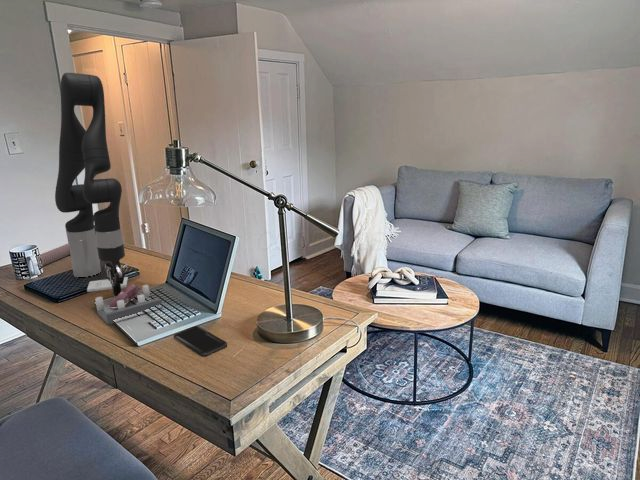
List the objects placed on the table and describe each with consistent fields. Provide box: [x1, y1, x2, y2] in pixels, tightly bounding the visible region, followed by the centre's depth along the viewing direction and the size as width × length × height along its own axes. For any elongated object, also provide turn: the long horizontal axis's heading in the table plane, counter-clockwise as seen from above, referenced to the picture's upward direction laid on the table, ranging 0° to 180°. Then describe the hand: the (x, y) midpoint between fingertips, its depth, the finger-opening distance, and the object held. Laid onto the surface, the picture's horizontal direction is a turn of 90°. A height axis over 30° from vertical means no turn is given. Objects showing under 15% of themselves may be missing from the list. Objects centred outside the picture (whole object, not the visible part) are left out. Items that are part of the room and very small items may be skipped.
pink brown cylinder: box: [39, 243, 70, 267], centre depth 186 cm, size 5×5×18 cm
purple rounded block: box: [108, 284, 141, 308], centre depth 144 cm, size 10×5×7 cm, turn 169°
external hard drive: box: [86, 276, 129, 293], centre depth 160 cm, size 2×8×12 cm
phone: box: [173, 325, 228, 358], centre depth 121 cm, size 8×1×15 cm
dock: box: [94, 284, 162, 326], centre depth 139 cm, size 10×16×5 cm, turn 132°
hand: (117, 295), depth 146 cm, fingers closed
